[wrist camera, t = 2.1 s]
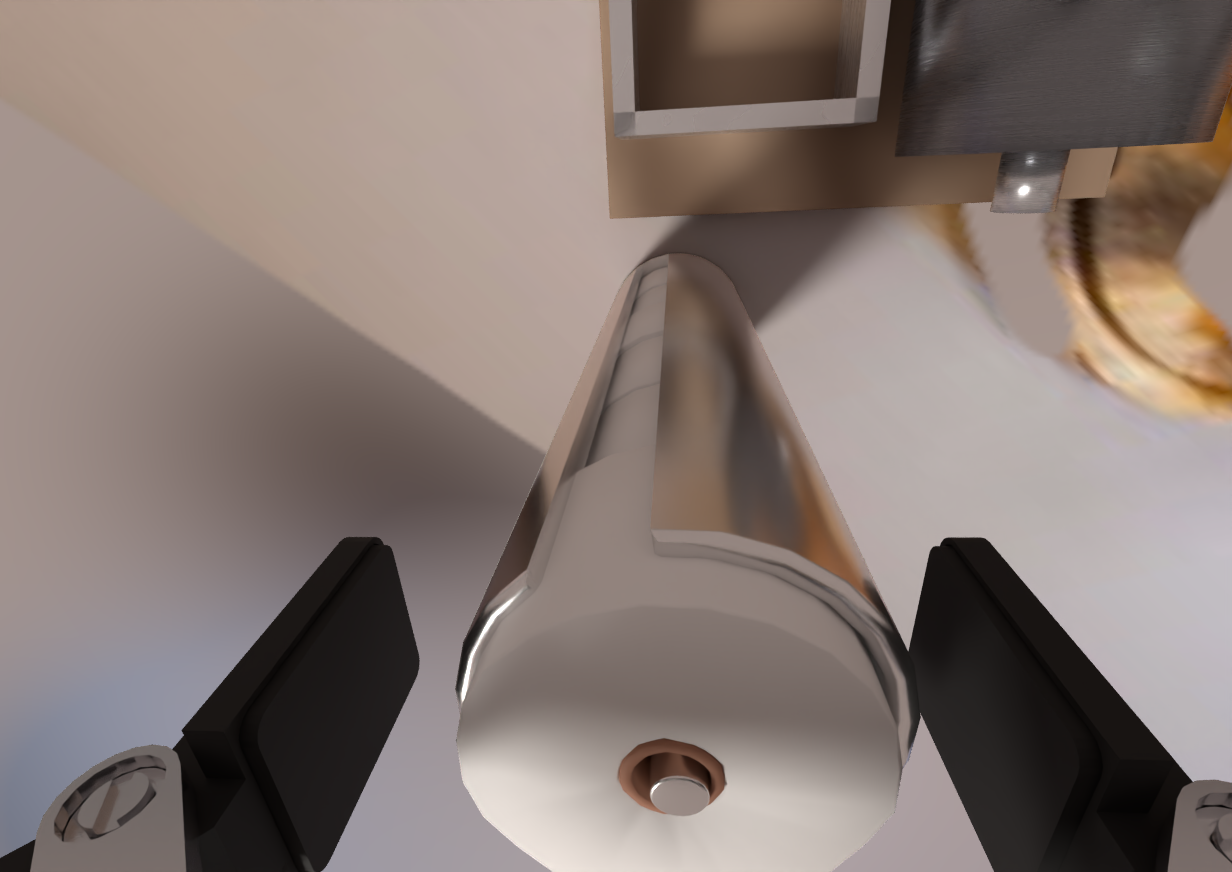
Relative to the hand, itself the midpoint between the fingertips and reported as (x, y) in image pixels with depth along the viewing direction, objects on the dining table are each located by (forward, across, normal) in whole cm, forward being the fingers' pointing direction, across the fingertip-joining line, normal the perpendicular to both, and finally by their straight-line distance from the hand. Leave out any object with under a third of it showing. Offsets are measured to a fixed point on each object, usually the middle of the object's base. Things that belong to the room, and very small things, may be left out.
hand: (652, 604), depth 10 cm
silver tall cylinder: (+22, -1, 0) cm, 22 cm away
